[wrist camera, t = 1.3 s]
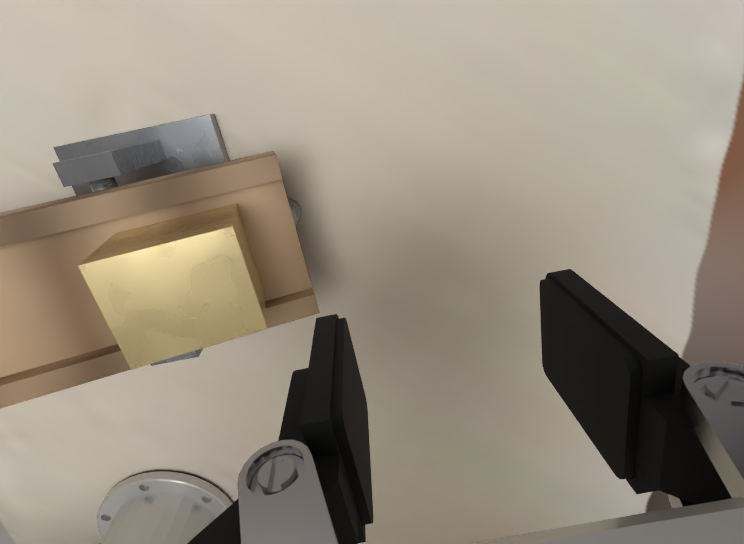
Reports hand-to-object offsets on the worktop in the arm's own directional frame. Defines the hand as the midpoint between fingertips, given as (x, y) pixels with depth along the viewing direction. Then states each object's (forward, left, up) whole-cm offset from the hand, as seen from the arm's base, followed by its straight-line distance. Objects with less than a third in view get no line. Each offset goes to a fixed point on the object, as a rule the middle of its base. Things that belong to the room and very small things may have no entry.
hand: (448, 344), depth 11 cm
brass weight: (0, +11, -12) cm, 16 cm away
